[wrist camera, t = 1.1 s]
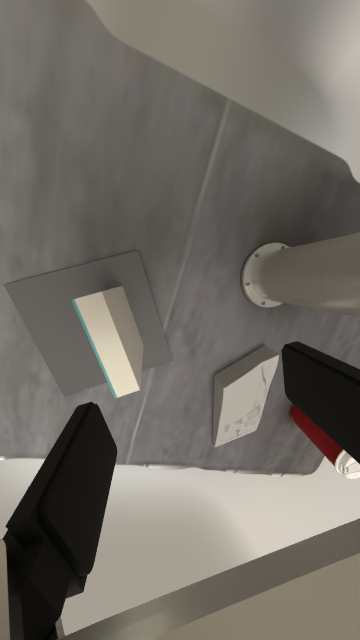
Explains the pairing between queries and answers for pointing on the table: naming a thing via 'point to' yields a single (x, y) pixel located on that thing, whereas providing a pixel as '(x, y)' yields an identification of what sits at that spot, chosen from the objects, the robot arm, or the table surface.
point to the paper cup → (326, 445)
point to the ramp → (242, 395)
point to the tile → (113, 338)
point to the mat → (65, 326)
